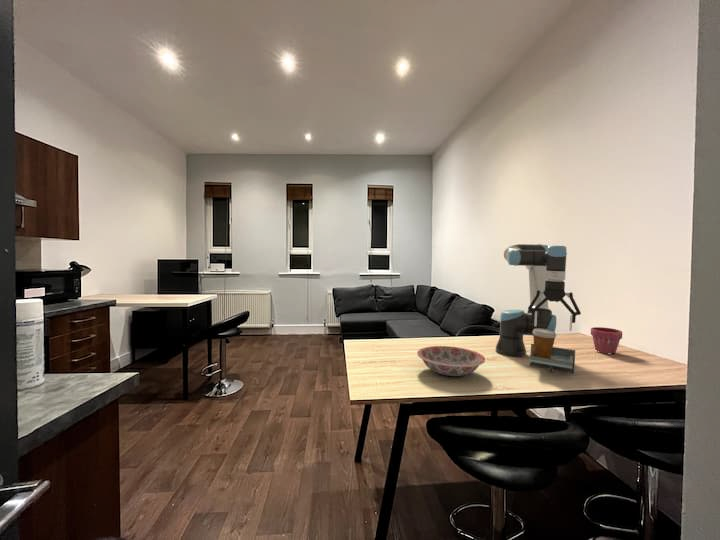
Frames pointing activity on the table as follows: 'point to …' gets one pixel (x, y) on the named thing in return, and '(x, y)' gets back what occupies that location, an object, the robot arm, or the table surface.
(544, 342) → the disposable coffee cup
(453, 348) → the ceramic bowl
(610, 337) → the plant pot
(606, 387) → the table surface
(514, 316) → the robot arm
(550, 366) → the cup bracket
